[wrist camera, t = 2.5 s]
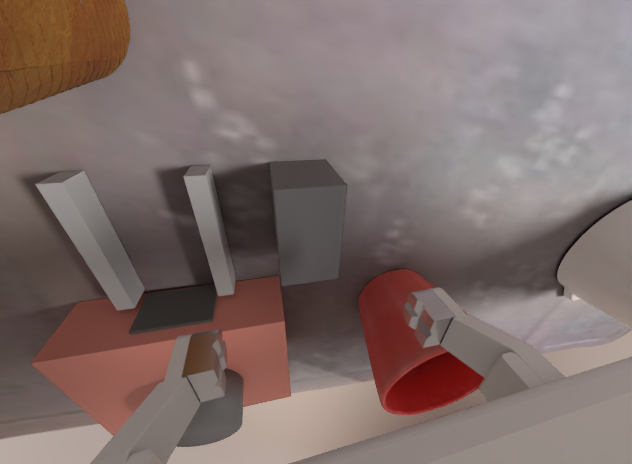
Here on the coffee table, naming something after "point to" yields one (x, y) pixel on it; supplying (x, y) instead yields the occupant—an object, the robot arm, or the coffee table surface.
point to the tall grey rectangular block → (307, 219)
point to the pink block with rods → (160, 319)
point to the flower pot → (408, 351)
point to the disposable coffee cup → (58, 46)
